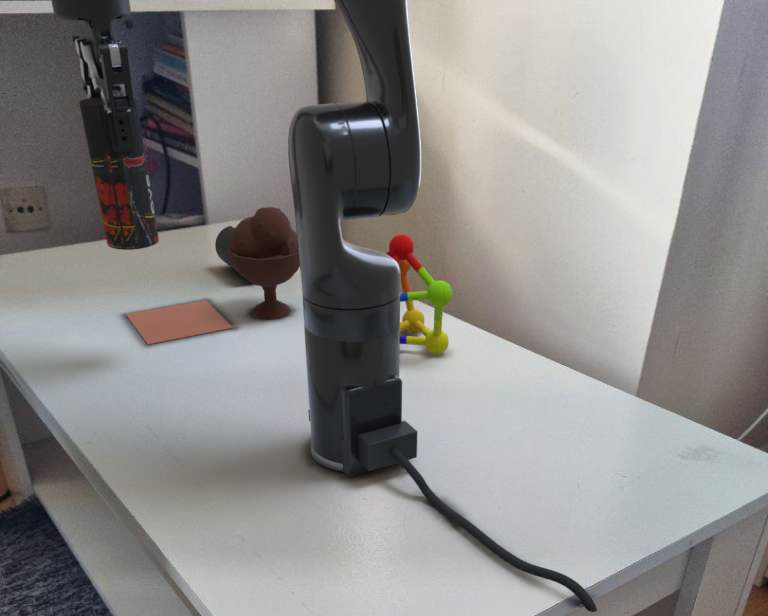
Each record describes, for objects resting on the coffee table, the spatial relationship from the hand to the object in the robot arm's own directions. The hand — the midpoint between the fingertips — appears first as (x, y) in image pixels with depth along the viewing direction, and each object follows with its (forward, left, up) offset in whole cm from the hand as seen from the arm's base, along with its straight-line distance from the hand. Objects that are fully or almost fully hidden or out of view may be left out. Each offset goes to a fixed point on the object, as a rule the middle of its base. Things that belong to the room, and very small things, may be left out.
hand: (116, 145), depth 89 cm
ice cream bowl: (+9, -20, -26) cm, 34 cm away
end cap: (+26, -23, -26) cm, 43 cm away
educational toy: (-11, -30, -26) cm, 41 cm away
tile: (+12, -7, -26) cm, 29 cm away
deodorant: (0, 0, -11) cm, 11 cm away
